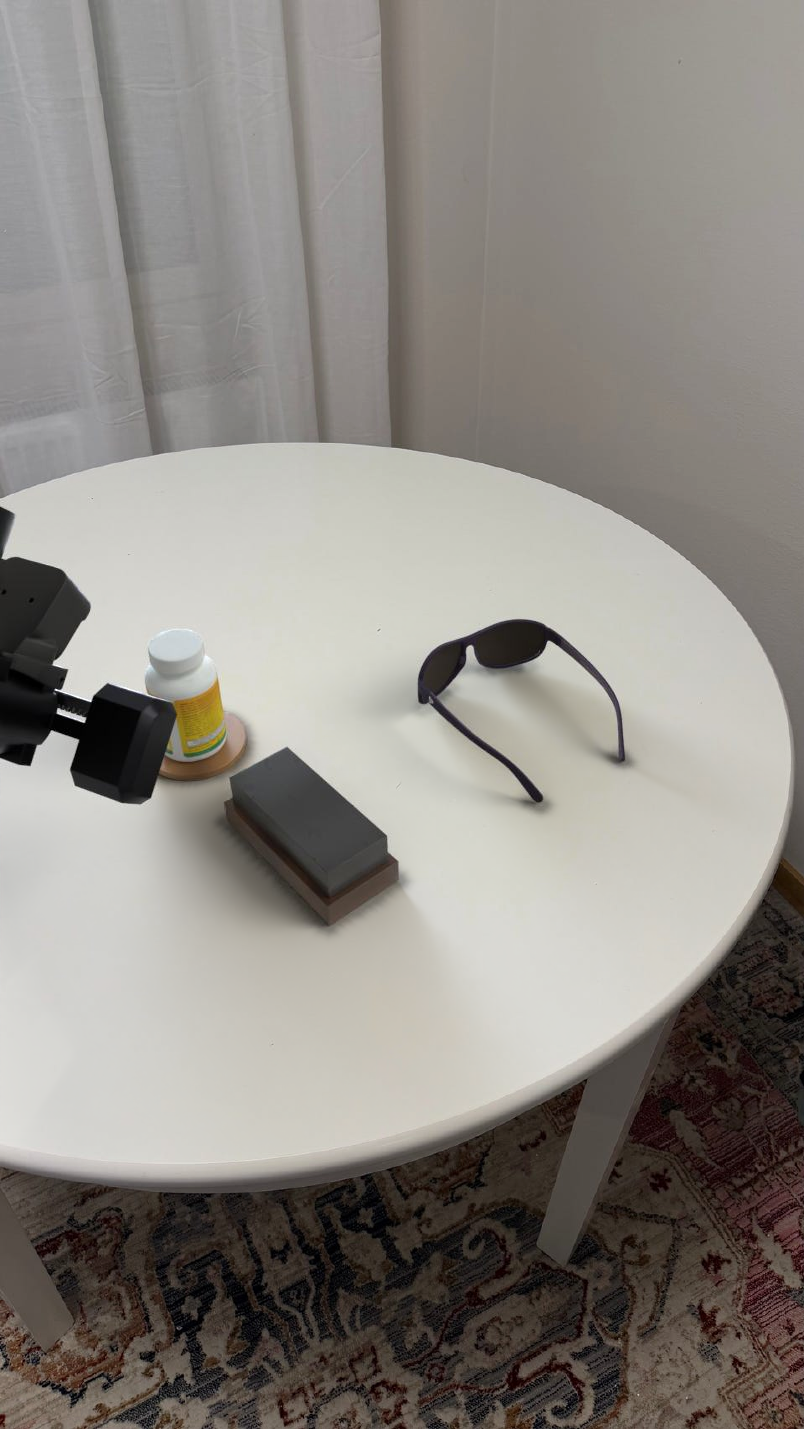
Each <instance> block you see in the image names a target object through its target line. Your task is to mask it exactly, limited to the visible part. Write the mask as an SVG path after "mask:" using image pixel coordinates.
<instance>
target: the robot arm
mask: <svg viewBox="0 0 804 1429" xmlns="http://www.w3.org/2000/svg"><path fill="white" fill-rule="evenodd" d="M16 518H17V514H16V513H14V512H13V511H10V510H9V509H7V508H4V506H1V505H0V759H1V760H5V761H7V762H10V763H12V764H15V765H18V766H24V767H31V766H32V763H33V759H34V757H35V754H36V750H37V747H38V746H41V745H43V743H44V742H45V741H46V740H47V738H48V737H49V736H50V735H51V732H55V733H57V734H60V735H63V736H67V737H70V738H72V739H75V740H78V742H77V746H76V748H75V751H74V755H73V758H72V762H71V764H70V768H69V771H70V775H71V778H72V781H73V784H74V787H76V788H79V789H83V790H85V791H88V792H89V793H93V794H95V795H98V796H101V797H104V798H107V799H109V800H112V801H115V802H117V803H121V804H127V805H142V804H144V803H145V802H147V801H149V800H150V799H152V796H153V793H154V791H155V787H156V784H157V780H158V777H159V775H160V774H159V771H160V768H161V765H162V762H163V759H164V755H165V752H166V749H167V746H168V743H169V739H170V736H171V733H172V730H173V727H174V724H175V720H176V717H177V712H176V710H175V707H174V705H173V703H172V702H169V701H166V700H163V699H160V698H157V697H154V696H150V695H147V693H144V692H141V691H138V690H134V689H131V688H127V687H125V686H121V685H117V684H114V683H110V682H106V683H105V684H104V685H103V686H102V687H101V688H100V689H98V691H97V692H96V693H94V694H93V696H92V698H91V700H89V699H86V698H83V697H80V696H76V695H73V694H71V693H67V692H65V691H61V690H63V688H64V686H65V682H66V679H67V675H68V672H69V668H66V667H63V666H60V665H57V664H54V662H55V661H57V660H58V659H59V658H60V657H61V656H62V655H63V653H64V652H65V650H66V648H67V647H68V646H69V644H70V642H71V640H72V639H73V636H74V635H75V633H76V632H77V630H78V629H79V627H80V625H81V624H82V622H84V621H85V620H86V619H87V618H88V616H89V615H90V612H91V610H92V604H91V601H90V600H89V598H87V596H86V595H85V594H84V592H82V590H81V589H80V588H79V587H78V586H77V585H76V584H75V582H74V581H73V580H72V579H71V578H70V577H69V575H68V574H67V573H66V571H64V570H63V569H62V568H60V567H57V566H53V565H50V564H46V563H43V562H40V561H39V562H38V561H36V560H32V559H28V558H24V557H21V556H11V557H8V558H3V556H4V553H5V551H6V548H7V544H8V541H9V539H10V536H11V533H12V530H13V528H14V524H15V521H16ZM58 709H59V710H61V711H65V712H67V713H70V714H73V715H76V716H78V717H79V716H80V717H81V718H85V720H82V719H78V718H75V717H72V716H70V715H66V714H64V713H60V712H58Z"/></svg>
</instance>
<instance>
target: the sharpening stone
mask: <svg viewBox="0 0 804 1429" xmlns="http://www.w3.org/2000/svg"><path fill="white" fill-rule="evenodd" d="M228 780H229V784H230V786H229V787H230V791H231V797H230V798H228V799H226V800H224V801H223V804H224V810H225V815H226V821H227V822H228V824H230V825H231V826H232V827H233V828H234V829H235V830H236V831H237V832H238V833H239V834H240V835H241V836H242V838H244V840H245V841H246V842H247V843H248V844H249V845H250V846H251V847H252V848H254V850H255V851H256V852H257V853H258V854H259V855H260V856H261V857H262V858H263V859H264V860H265V861H266V862H267V863H268V864H269V865H270V866H271V867H272V868H273V869H274V870H275V871H276V873H278V875H280V876H281V878H283V879H284V880H285V881H286V883H287V884H288V885H289V886H290V887H291V888H292V889H293V890H294V891H295V892H296V893H297V894H298V895H299V896H300V897H301V898H302V899H303V900H304V901H305V902H306V903H307V904H308V905H309V907H311V908H312V910H314V911H315V912H316V913H317V914H318V916H319V917H321V919H323V921H325V923H326V924H327V925H328V926H333V924H335V923H336V922H338V921H339V920H341V919H343V918H344V917H345V916H347V915H349V914H350V913H351V912H353V911H355V910H356V909H358V908H359V907H361V906H362V905H364V904H365V903H367V902H368V901H370V900H371V899H373V898H374V897H376V896H378V895H379V894H381V893H382V892H383V891H385V890H386V889H388V888H390V887H391V886H392V885H394V884H396V883H397V882H399V881H400V871H399V870H400V868H399V867H400V866H399V864H400V863H399V860H398V859H397V858H395V856H393V855H392V854H391V853H390V852H389V842H388V840H389V839H388V835H387V834H386V833H385V832H384V831H383V830H381V828H380V827H378V826H377V825H376V824H375V823H374V822H373V821H371V820H370V819H369V818H368V817H367V816H366V814H365V815H364V813H362V812H361V810H359V809H358V808H357V807H356V806H354V805H353V804H352V803H351V802H350V801H349V800H348V799H346V797H345V796H343V795H342V793H340V792H339V791H337V789H335V788H334V787H333V786H332V784H330V783H329V782H328V781H326V780H325V779H324V778H323V777H322V776H321V775H320V774H318V773H317V771H316V770H314V769H313V768H312V767H311V766H309V764H307V763H306V762H305V761H304V760H303V759H302V758H300V756H298V755H297V754H296V753H295V752H294V751H293V750H292V749H291V748H290V747H288V746H285V747H283V748H281V749H279V750H278V751H275V752H274V753H271V754H270V755H268V756H267V757H266V756H265V757H264V758H262V759H260V760H259V761H257V762H255V763H253V764H251V765H249V766H248V767H246V768H244V769H242V770H240V771H238V772H237V773H235V774H233V775H231V776H229V777H228Z"/></svg>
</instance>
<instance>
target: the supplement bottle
mask: <svg viewBox="0 0 804 1429" xmlns="http://www.w3.org/2000/svg"><path fill="white" fill-rule="evenodd" d="M147 653H148V658H149V664H148V666H147V668H146V670H145V673H144V684H145V690H146V694H147V695H150V696H154V697H157V698H160V699H163V700H166V701H169V702H172V703H173V705H174V707H175V710H176V712H177V717H176V720H175V724H174V727H173V730H172V733H171V736H170V739H169V743H168V746H167V749H166V752H165V755H166V756H167V757H169V758H171V759H173V760H176V761H181V762H194V761H199V760H202V759H206V758H208V757H210V756H212V755H214V754H215V753H217V752H218V751H219V750H220V749H221V748H222V746H223V745H224V743H225V740H226V736H227V734H226V725H225V719H224V713H223V711H224V707H223V701H222V700H223V699H222V695H221V688H220V682H219V676H218V670H217V666H216V664H215V663H214V661H213V660H212V658H211V657H209V656H208V655H207V654H206V649H205V644H204V641H203V638H202V636H201V635H200V634H199V633H198V632H196V631H195V630H191V629H189V628H172V629H168V630H164V631H162V632H160V633H158V634H157V635H156V636H154V637H153V638H152V639H150V641H149V643H148V646H147Z"/></svg>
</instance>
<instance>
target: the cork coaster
mask: <svg viewBox="0 0 804 1429" xmlns="http://www.w3.org/2000/svg"><path fill="white" fill-rule="evenodd" d="M223 713H224V719H225V725H226V734H227V736H226V740H225V743H224V745H223V746H222V748H221V749H220V750H219V751H218V752H217V753H215V754H214V755H212V756H210V757H208V758H206V759H202V760H199V761H194V762H181V761H176V760H173V759H171V758H169V757H167V756H166V755H164V759H163V762H162V765H161V768H160V771H159V775H161V776H163V777H165V778H168V779H171V780H176V781H187V782H188V781H191V782H192V781H200V780H205V779H210V778H212V777H215V776H217V775H220V774H222V773H224V772H226V771H227V770H229V769H230V768H232V767H233V766H234V765H235V764H236V763H238V761H240V759H241V757H242V756H243V755H244V753H245V751H246V747H247V742H248V740H247V739H248V738H247V732H246V728H245V726H244V725H243V723H242V722H241V721H240V720H239V718H237V716H235V715H233V714H232V713H230V712H227V711H225V710H223Z"/></svg>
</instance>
